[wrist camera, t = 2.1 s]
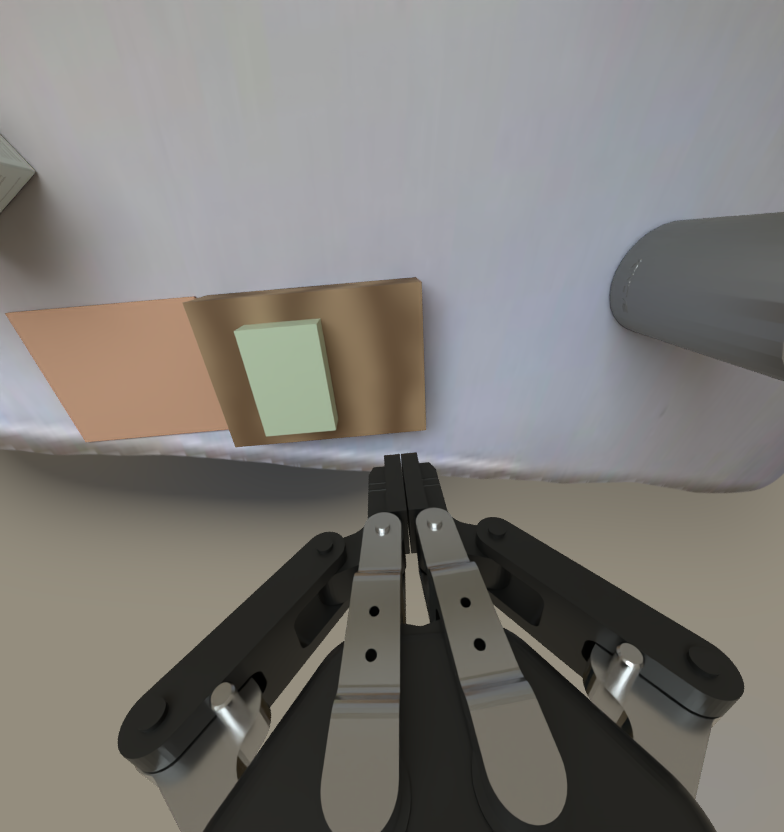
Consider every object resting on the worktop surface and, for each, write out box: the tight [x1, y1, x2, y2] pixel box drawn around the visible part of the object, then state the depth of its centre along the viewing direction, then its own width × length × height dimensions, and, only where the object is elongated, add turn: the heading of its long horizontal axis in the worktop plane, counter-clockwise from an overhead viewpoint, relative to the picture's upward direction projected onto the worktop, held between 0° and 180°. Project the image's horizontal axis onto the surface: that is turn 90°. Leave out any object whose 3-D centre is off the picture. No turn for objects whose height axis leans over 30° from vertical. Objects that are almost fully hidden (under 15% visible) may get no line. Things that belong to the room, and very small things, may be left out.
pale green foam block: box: [234, 318, 338, 437], centre depth 26 cm, size 6×9×2 cm, turn 4°
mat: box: [5, 297, 229, 442], centre depth 30 cm, size 16×13×1 cm
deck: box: [183, 277, 426, 447], centre depth 29 cm, size 18×13×4 cm
